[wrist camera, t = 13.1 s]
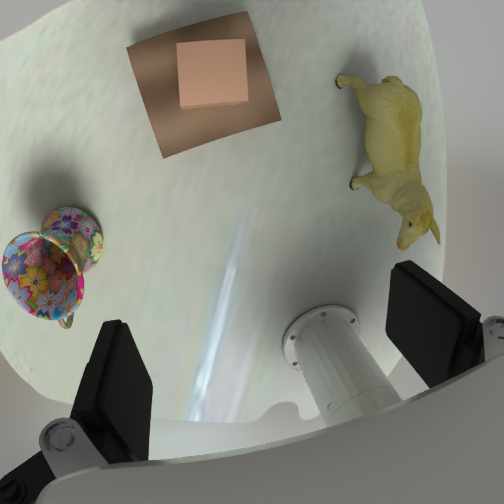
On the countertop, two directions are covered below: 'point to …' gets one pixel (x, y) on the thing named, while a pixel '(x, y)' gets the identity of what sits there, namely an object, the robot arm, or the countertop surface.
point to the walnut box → (207, 118)
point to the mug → (53, 264)
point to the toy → (394, 153)
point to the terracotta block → (212, 73)
